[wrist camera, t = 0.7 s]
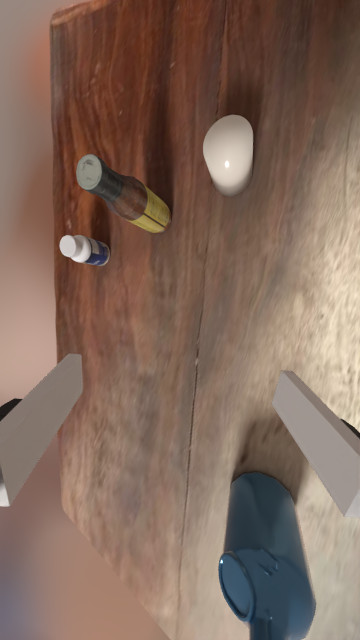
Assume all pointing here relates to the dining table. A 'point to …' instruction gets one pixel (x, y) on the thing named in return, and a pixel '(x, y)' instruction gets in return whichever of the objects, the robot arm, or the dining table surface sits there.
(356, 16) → the dining table surface
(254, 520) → the wine bottle
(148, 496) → the dining table surface
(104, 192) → the sauce bottle
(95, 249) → the pill bottle
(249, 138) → the white rounded cylinder
